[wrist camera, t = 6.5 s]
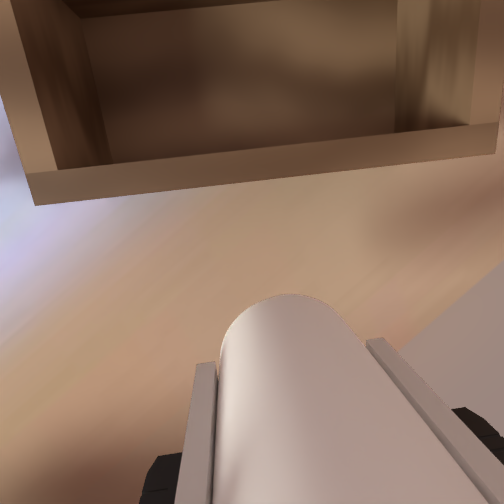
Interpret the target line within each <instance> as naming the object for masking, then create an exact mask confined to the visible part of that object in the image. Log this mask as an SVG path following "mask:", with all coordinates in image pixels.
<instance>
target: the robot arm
mask: <svg viewBox="0 0 504 504" xmlns="http://www.w3.org/2000/svg"><path fill="white" fill-rule="evenodd" d="M366 348H367V350H368V351H369V352H370V353H371V355H372V356H373V357H374V358H375V360H376V361H377V362H378V363H379V365H380V366H381V367H382V368H383V370H384V371H385V372H386V374H387V375H388V376H389V377H390V379H391V380H392V381H393V382H394V384H395V385H396V386H397V387H398V389H399V390H400V391H401V393H402V394H403V395H404V396H405V398H406V399H407V400H408V401H409V403H410V404H411V405H412V407H413V408H414V409H415V410H416V412H417V413H418V414H419V415H420V417H421V418H422V419H423V420H424V422H425V423H426V424H427V426H428V427H429V428H430V429H431V431H432V432H433V433H434V434H435V436H436V437H437V438H438V440H439V441H440V442H441V443H442V445H443V446H444V447H445V448H446V450H447V451H448V452H449V454H450V455H451V456H452V457H453V459H454V460H455V461H456V463H457V464H458V465H459V466H460V468H461V469H462V470H463V471H464V473H465V474H466V475H467V477H468V478H469V479H470V480H471V482H472V483H473V484H474V485H475V487H476V488H477V489H478V491H479V492H480V493H481V494H482V496H483V497H484V498H485V500H486V501H487V502H488V503H489V504H504V438H503V437H501V436H500V435H499V433H498V432H497V431H496V430H495V429H494V428H493V427H492V426H491V425H490V424H489V423H488V422H487V421H486V420H484V418H482V417H480V416H479V415H477V414H475V413H474V412H472V411H470V410H469V409H467V408H466V407H463V408H456V409H450V408H449V407H448V406H447V405H446V404H445V403H444V402H443V401H442V400H441V399H440V397H439V396H438V395H437V394H436V393H435V392H434V391H433V390H432V389H431V388H430V387H429V386H428V385H427V384H426V383H425V382H424V380H423V379H422V378H421V377H420V376H419V375H418V374H417V373H416V372H415V371H414V370H413V369H412V368H411V367H410V366H409V364H408V363H407V362H406V361H405V360H404V359H403V358H402V357H401V356H400V355H399V354H398V353H397V352H396V351H395V350H394V349H393V347H392V346H391V345H390V344H389V343H388V342H387V341H386V340H385V339H384V338H377V339H370V340H366ZM217 399H218V377H217V371H216V364H215V362H208V363H201V364H197V367H196V373H195V379H194V385H193V391H192V398H191V404H190V410H189V416H188V422H187V428H186V434H185V441H184V447H183V452H181V453H175V454H168V455H162V456H158V457H157V458H156V460H155V462H154V463H153V465H152V466H151V468H150V469H149V471H148V473H147V476H146V479H145V483H144V487H143V490H142V496H141V498H140V502H139V504H212V498H213V478H214V457H215V437H216V418H217Z"/></svg>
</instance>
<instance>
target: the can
mask: <svg viewBox="0 0 504 504" xmlns="http://www.w3.org/2000/svg"><path fill="white" fill-rule="evenodd" d="M212 504H489V503H488V502H487V501H486V500H485V498H484V497H483V496H482V494H481V493H480V492H479V491H478V489H477V488H476V487H475V485H474V484H473V483H472V482H471V480H470V479H469V478H468V477H467V475H466V474H465V473H464V471H463V470H462V469H461V468H460V466H459V465H458V464H457V463H456V461H455V460H454V459H453V457H452V456H451V455H450V454H449V452H448V451H447V450H446V448H445V447H444V446H443V445H442V443H441V442H440V441H439V440H438V438H437V437H436V436H435V434H434V433H433V432H432V431H431V429H430V428H429V427H428V426H427V424H426V423H425V422H424V420H423V419H422V418H421V417H420V415H419V414H418V413H417V412H416V410H415V409H414V408H413V407H412V405H411V404H410V403H409V401H408V400H407V399H406V398H405V396H404V395H403V394H402V393H401V391H400V390H399V389H398V387H397V386H396V385H395V384H394V382H393V381H392V380H391V379H390V377H389V376H388V375H387V374H386V372H385V371H384V370H383V368H382V367H381V366H380V365H379V363H378V362H377V361H376V360H375V358H374V357H373V356H372V355H371V353H370V352H369V351H368V350H367V348H366V347H365V346H364V344H363V343H362V342H361V341H360V339H359V338H358V337H357V336H356V334H355V333H354V332H353V331H352V329H351V328H350V327H349V326H348V325H347V323H346V322H345V321H344V320H343V319H342V317H341V316H340V315H339V314H338V313H337V312H336V311H335V310H334V309H333V308H331V307H330V306H329V305H327V304H325V303H324V302H322V301H320V300H317V299H315V298H312V297H308V296H304V295H299V294H284V295H279V296H274V297H271V298H268V299H265V300H263V301H260V302H258V303H256V304H254V305H252V306H251V307H249V308H248V309H246V310H245V311H244V312H242V313H241V314H240V315H239V316H238V317H237V318H236V319H235V320H234V322H233V323H232V324H231V326H230V327H229V329H228V331H227V332H226V335H225V337H224V340H223V343H222V347H221V352H220V364H219V380H218V399H217V418H216V437H215V457H214V478H213V498H212Z"/></svg>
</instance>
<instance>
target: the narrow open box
mask: <svg viewBox="0 0 504 504" xmlns="http://www.w3.org/2000/svg"><path fill="white" fill-rule="evenodd" d="M503 83H504V0H0V95H1V98H2V101H3V104H4V108H5V111H6V114H7V117H8V121H9V124H10V127H11V130H12V133H13V137H14V140H15V143H16V146H17V149H18V153H19V156H20V159H21V162H22V166H23V169H24V172H25V175H26V178H27V182H28V185H29V188H30V191H31V194H32V198H33V201H34V204H35V206H39V205H47V204H56V203H65V202H74V201H83V200H91V199H100V198H109V197H118V196H127V195H135V194H144V193H153V192H162V191H171V190H180V189H188V188H197V187H206V186H215V185H224V184H232V183H241V182H250V181H259V180H268V179H276V178H285V177H294V176H303V175H312V174H320V173H329V172H338V171H347V170H356V169H365V168H373V167H382V166H391V165H400V164H409V163H417V162H426V161H435V160H444V159H453V158H461V157H470V156H479V155H488V154H495V152H496V143H497V135H498V126H499V118H500V109H501V100H502V92H503Z"/></svg>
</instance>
